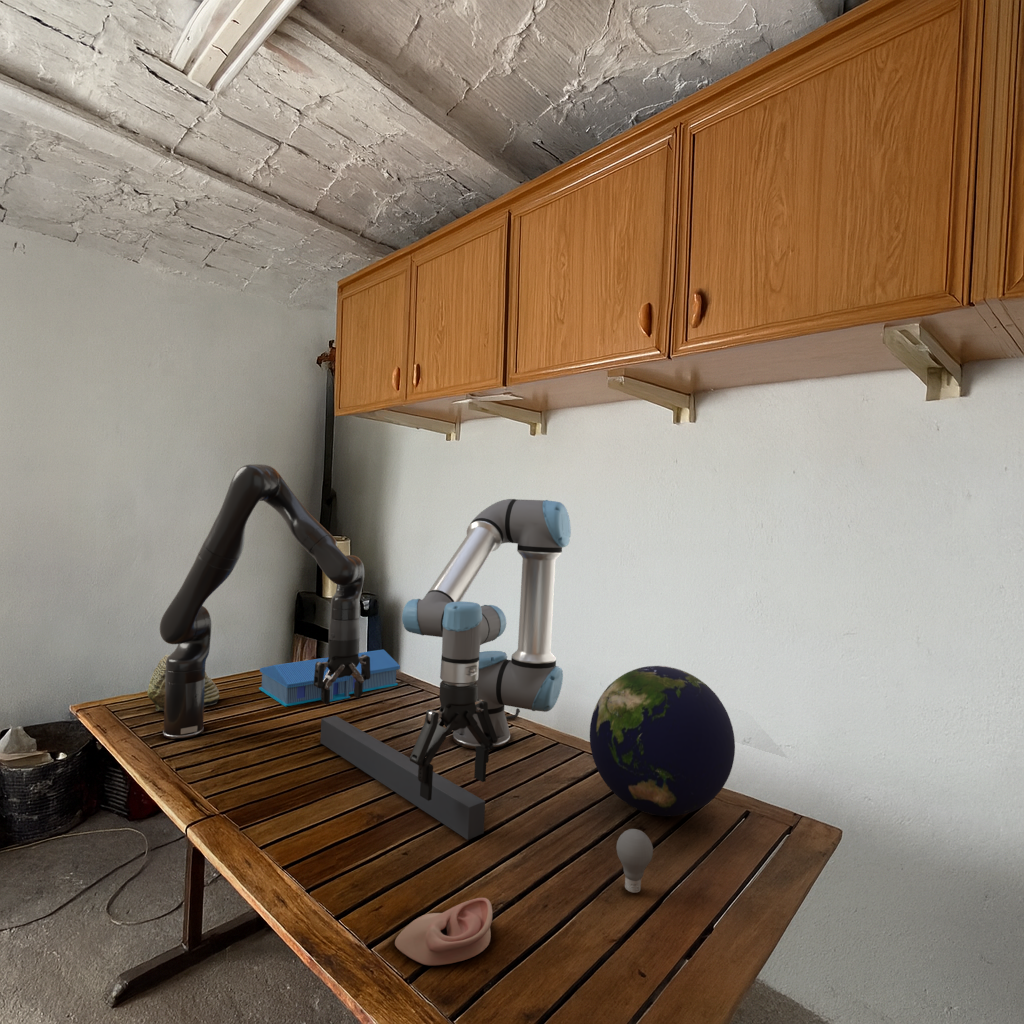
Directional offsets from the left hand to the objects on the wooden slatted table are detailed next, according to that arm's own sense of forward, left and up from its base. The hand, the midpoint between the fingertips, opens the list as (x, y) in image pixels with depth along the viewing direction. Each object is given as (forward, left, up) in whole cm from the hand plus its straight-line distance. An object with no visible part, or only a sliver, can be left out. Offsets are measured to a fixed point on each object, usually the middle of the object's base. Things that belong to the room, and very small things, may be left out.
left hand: (341, 700), depth 158 cm
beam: (+23, 0, -13) cm, 26 cm away
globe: (+68, +37, -13) cm, 79 cm away
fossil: (-56, -20, -13) cm, 60 cm away
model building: (-47, +22, -13) cm, 53 cm away
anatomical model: (+71, -22, -13) cm, 75 cm away
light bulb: (+82, +10, -13) cm, 83 cm away
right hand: (+46, 0, -6) cm, 46 cm away
